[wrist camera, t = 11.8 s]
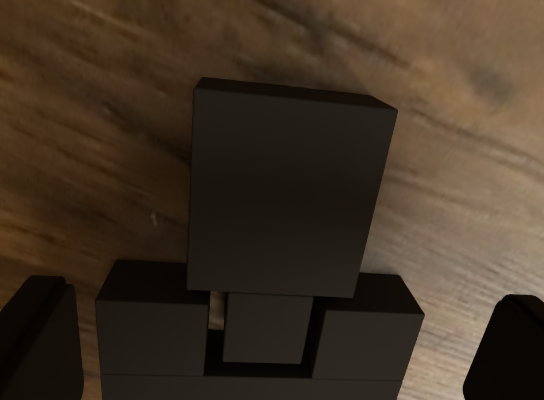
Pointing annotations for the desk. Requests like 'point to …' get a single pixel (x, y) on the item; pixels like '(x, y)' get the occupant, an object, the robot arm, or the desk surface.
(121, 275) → the base pad
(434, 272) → the desk surface
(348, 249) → the black pad
